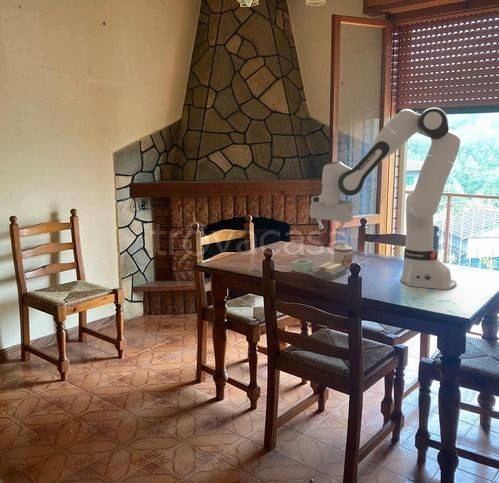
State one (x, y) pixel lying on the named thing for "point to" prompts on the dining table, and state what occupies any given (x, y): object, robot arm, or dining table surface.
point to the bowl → (302, 266)
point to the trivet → (330, 274)
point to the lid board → (329, 267)
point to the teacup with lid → (343, 255)
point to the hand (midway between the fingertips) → (330, 229)
